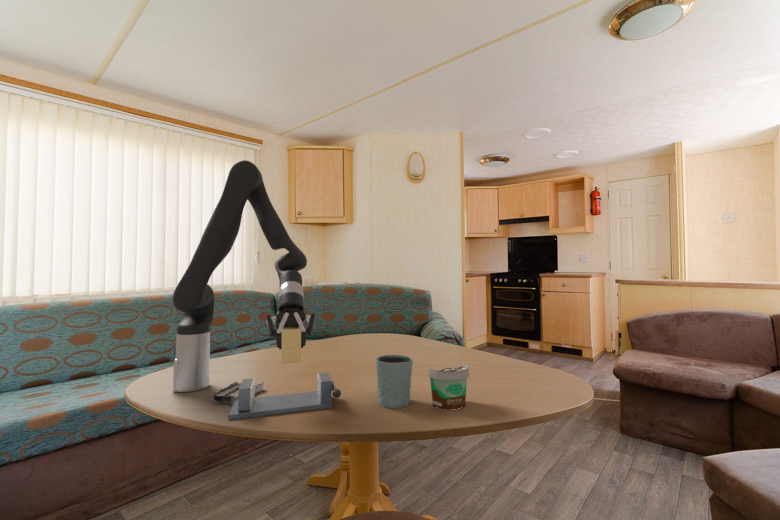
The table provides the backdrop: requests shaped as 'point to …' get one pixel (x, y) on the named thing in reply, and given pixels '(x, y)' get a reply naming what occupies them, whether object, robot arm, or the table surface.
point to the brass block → (291, 345)
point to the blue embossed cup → (394, 380)
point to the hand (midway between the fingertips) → (291, 346)
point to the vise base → (291, 401)
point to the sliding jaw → (246, 395)
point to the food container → (449, 387)
